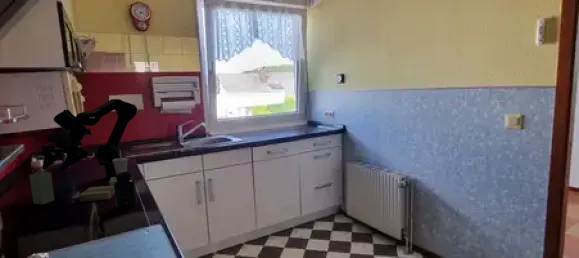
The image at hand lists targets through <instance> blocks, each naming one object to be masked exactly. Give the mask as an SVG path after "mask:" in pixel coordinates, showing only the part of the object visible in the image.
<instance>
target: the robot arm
mask: <svg viewBox="0 0 579 258" xmlns="http://www.w3.org/2000/svg"><path fill="white" fill-rule="evenodd" d="M113 111H115V112H116V115H117V119H116V121H115V124H114V126H113V129H112V131H111V133H110V134H109V137H108V139H107V142H106V143H105V144H100V145H99V146H98V149H97V151H96V157H95V158H96V160H97V162H98V164H99V166H101V167H102V166H103V167H104V177H103V178H102V180H110V179H111V177H116V172H115V167H114V163H113V161H112V160H114V159H118V158H120V155H119V154H120V151H119V149H118V148H119V147H118V146H119V144H120V141H121V139H122V137H123V136H124V132H125V130H126V129H127V126H128V124H129V122H130V121H131V120H133V119H134V118H135V116H136V115H137V113H138V107H137V106H136V105H135V104H134V103H130V102H127V101H124V100H122V99H121V98H112V99H109V100H108V101H106V102H105V103H103V104H100V105H99V106H98V107H96V108H94V109H91V110H86V111H82V112H78V113H77V114H76V116H75V115H74V114H73V113H72V112H71V110H69V109H63V111H61V112H59V113H57V114H55V116H54V117H53V122H54V123H56V125H57V126H60V128H62V129H63V130H64V131H68V132H61V133H48V136H47V139H46V142H48V143H52V144H43V145H42V147H41V148H40V151H41V152H42V153H43V154H44V159H43V162H42V163H43V164H42V165H41V166H42V167H41V169H42V170H43V171H44V170H46V169H48V168H49V167H50V166H51V165H52V164H54V163H55V162H56V161H57V160H59V158H58V157H60V156H61V154H66V157H65V159H64V161H63V163H62V164H61V166H60V169H59V170H60V171H63V172H64V171H65V170H66V169H68V168H70V167H71V166H73V165H74V164H76V163H78V162H80V161H82V160H83V159H87V157H88V154H89V153H88V151H87V150H86V149H85V148H84V147H82V145H83V142H82V141H83V139H84V137H85V136H91V135H92V132H91V129H90V128H87V127H94V126H95V125H97V124H98V123H99V122H100V121H101V118H103V117H105V116H107V114H109V113H111V112H113Z"/></svg>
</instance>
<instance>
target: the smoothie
mask: <svg viewBox="0 0 579 258" xmlns="http://www.w3.org/2000/svg"><path fill="white" fill-rule="evenodd" d="M118 152H119V157H120V158H118V159H114V160H112V161H113V163H114V167H115V172H116V174H118V173H121V172H128V161H129V159H128V157H122V150H121V149H118Z"/></svg>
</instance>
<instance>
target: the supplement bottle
mask: <svg viewBox="0 0 579 258" xmlns="http://www.w3.org/2000/svg"><path fill="white" fill-rule="evenodd" d="M131 177H132V173H131V172H130V171H127V172H121V173H118V174H116V180H117V181H116V182H115V183H114V193H115V194H114V198H115V199H114V200H115V207H116V208H117V209H118V210H125V209H132V208H133V207H136V206H137V204H138V199H137V188H136V182H135V180H134V179H133V178H132V179H131Z"/></svg>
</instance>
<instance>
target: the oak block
mask: <svg viewBox="0 0 579 258" xmlns="http://www.w3.org/2000/svg"><path fill="white" fill-rule="evenodd" d="M78 196H79V202H82V203H83V202H91V201H93V202H94V201H95V202H96V201H105V200H106V201H107V200H110V198H112V197H113V196H115V193H114V185H113V186H110V185H101V186H89V187H88V188H87V189H85V190H84V191H83V192H81V193H80V194H79V195H78Z"/></svg>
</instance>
